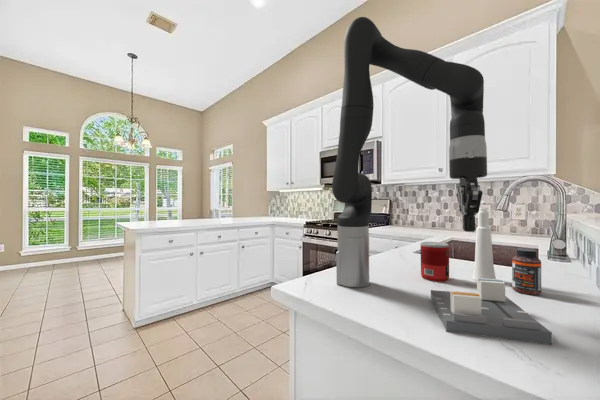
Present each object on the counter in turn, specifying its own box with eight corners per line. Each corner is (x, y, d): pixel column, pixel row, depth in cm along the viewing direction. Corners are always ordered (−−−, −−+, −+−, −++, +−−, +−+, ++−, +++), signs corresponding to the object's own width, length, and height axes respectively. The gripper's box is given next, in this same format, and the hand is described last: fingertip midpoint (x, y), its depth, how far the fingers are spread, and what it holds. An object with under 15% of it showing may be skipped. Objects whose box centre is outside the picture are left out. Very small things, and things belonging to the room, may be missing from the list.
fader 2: (481, 299, 60) (481, 280, 60) (476, 294, 63) (476, 277, 63) (505, 301, 59) (505, 282, 59) (499, 296, 61) (499, 278, 61)
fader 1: (454, 316, 51) (453, 294, 51) (450, 310, 54) (450, 289, 54) (481, 319, 50) (481, 297, 50) (476, 313, 53) (476, 291, 53)
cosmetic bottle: (467, 277, 84) (466, 208, 85) (485, 276, 85) (484, 208, 85) (482, 283, 78) (481, 208, 79) (501, 282, 79) (500, 208, 79)
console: (446, 331, 50) (446, 314, 50) (430, 297, 67) (430, 285, 67) (552, 344, 45) (552, 325, 45) (506, 304, 62) (506, 291, 62)
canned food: (453, 282, 80) (452, 245, 80) (424, 281, 81) (423, 245, 81) (444, 275, 87) (444, 241, 87) (418, 274, 89) (418, 241, 89)
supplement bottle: (511, 292, 71) (510, 249, 71) (513, 286, 75) (512, 246, 75) (541, 297, 67) (540, 252, 67) (541, 291, 71) (541, 249, 71)
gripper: (444, 162, 70) (446, 228, 70) (455, 154, 58) (457, 234, 58) (477, 160, 68) (479, 228, 68) (496, 151, 55) (498, 235, 55)
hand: (469, 231), depth 63 cm, fingers closed
